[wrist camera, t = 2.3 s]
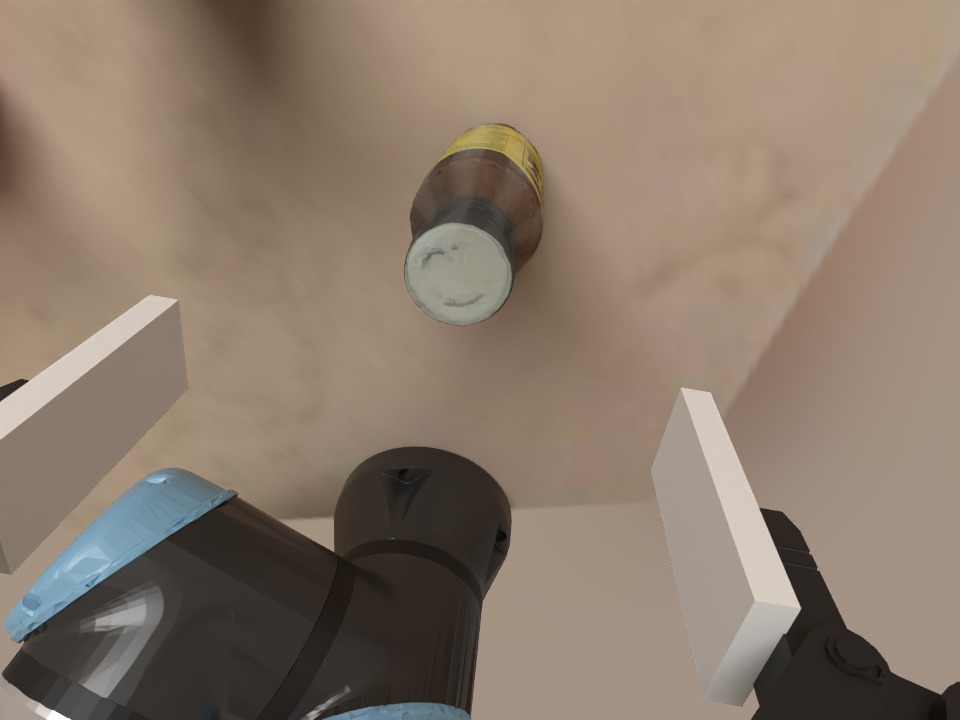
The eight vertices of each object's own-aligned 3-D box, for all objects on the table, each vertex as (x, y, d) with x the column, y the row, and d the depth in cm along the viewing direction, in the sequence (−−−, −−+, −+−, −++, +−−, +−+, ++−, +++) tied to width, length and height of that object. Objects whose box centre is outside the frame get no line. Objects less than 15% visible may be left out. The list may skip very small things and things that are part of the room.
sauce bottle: (527, 228, 42) (513, 383, 24) (436, 203, 41) (357, 340, 24) (557, 131, 39) (565, 228, 21) (459, 102, 38) (385, 177, 21)
